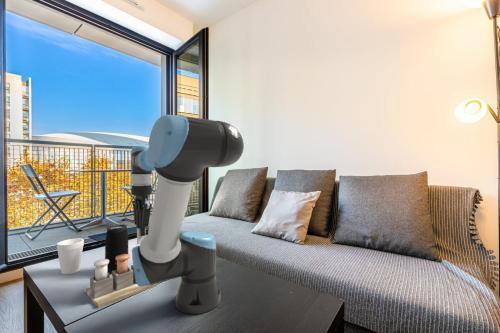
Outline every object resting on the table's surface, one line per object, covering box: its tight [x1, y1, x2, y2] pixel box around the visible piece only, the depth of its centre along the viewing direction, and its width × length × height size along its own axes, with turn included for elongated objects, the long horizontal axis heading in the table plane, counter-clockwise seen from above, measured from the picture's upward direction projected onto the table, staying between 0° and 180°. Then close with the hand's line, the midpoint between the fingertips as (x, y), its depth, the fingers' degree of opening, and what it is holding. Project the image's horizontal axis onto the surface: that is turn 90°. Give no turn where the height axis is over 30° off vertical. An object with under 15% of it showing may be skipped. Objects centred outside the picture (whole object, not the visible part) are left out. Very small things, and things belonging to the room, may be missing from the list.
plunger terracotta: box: [116, 253, 130, 275], centre depth 89 cm, size 5×5×7 cm
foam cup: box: [56, 237, 85, 275], centre depth 104 cm, size 10×9×13 cm
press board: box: [84, 264, 158, 309], centre depth 89 cm, size 15×20×7 cm
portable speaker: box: [104, 224, 129, 275], centre depth 105 cm, size 9×9×20 cm
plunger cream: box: [93, 258, 109, 282], centre depth 84 cm, size 5×5×7 cm
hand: (141, 243), depth 95 cm, fingers closed
